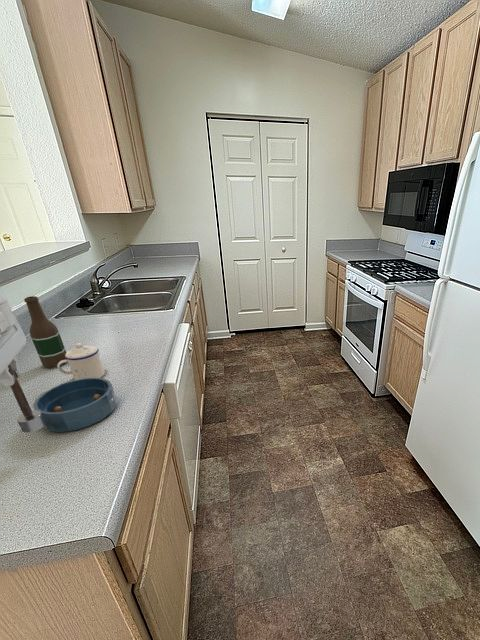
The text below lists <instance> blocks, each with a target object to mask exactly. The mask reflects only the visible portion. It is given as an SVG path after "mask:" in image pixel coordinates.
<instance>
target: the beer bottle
mask: <svg viewBox="0 0 480 640" xmlns="http://www.w3.org/2000/svg"><path fill="white" fill-rule="evenodd" d="M39 300H40V299H39V297H38V296H35V295H32V296H27V297H25V298H24V300H23V301H24V303H26V307H27V310H28V312H29V316H30V319H31V324H30V327H29V335H30V339H31V340H32V343H33V346H34V348H35V350H36V354H37V355H38V357H39V360H40V363H41V364H42V366H43V367H44V368H47V369H55V368H58V367H57V365H58V363H59V362H60V361H62V360H66V358H65V355H66V353H67V350H66V347H65V345H64V342H63V339H62V337H61V334H60V331H59V329H58V327H57V325H55V324H54V322H53V321H51V320H49V319H48V317H47V316H46V315H45V312H44V310H43V308H42V306H41V303H40V301H39ZM66 364H68V362H66V363H62V364H61V365H60V367H62V366H64V365H66Z"/></svg>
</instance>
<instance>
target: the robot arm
mask: <svg viewBox="0 0 480 640" xmlns="http://www.w3.org/2000/svg"><path fill="white" fill-rule="evenodd" d="M26 344H27V337H26V335H25V333H24V330H23V328H22V327H21V324H20V322H19V321H18V318H16V315H14V312H13V311H12V308H11V306H10V303H9V300H8V298H7V297H6V295H5V294H4V293H3V292H2V290H1V289H0V382H1V384H2V386H4V387H10V386H11V385H13V384H14V383H15V381H16V379H15V377H14V375H11V374H10V373H9V371H8V370H9V368H8V365H9V364H11V366H12V368H13V370H14V373H15V375H16V377H17V379H18V378H19V377H20V376H21V372H20V369H19V363H18V358H17V356H18V354H19V353H20V352H21V350H22V349H23V348H24V347H25V345H26Z"/></svg>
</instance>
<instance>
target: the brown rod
mask: <svg viewBox="0 0 480 640" xmlns="http://www.w3.org/2000/svg"><path fill="white" fill-rule="evenodd" d="M8 368H9V370H8V371H9V373H10V374H11V375H14V377H15V379H16V381H15V383H14V384H13V385H11V386H9V388H10V389H11V392H12V394H13V396H14V398H15V401H16V402H17V405H18V407H19V409H20V411H21V414H20V415H19V416H18V417H17V418H16V421H17V424H18V426H19V428H20V430H21V432H22V433H25V434H28V433H34V432H37V431H39V430H41V429H42V428H44V425H45V420H44V418H43V416H42V414H41V412H40V411H38V410H32V408H31V406H30V404H29V401H28V399H27V397H26V395H25V393H24V391H23V388H22V386H21V384H20V382H19V379H18V378H17V377H16V375H15V373H14V370H13V368H12V366H11V364H9V365H8Z"/></svg>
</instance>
